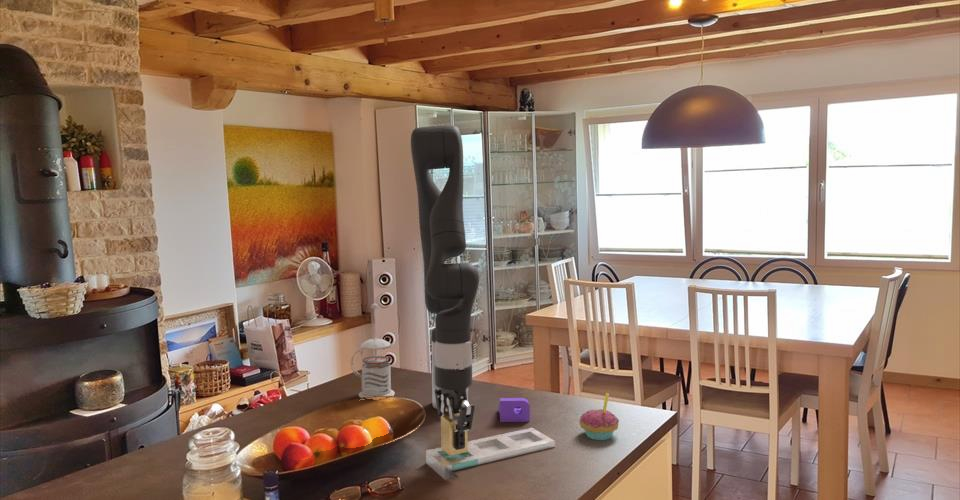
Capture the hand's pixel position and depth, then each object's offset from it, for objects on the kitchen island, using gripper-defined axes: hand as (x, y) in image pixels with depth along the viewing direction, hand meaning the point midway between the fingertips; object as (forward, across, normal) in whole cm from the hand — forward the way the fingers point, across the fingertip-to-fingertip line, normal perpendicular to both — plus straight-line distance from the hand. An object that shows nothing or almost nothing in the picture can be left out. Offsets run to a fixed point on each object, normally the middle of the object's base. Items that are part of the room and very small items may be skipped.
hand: (454, 444), depth 141 cm
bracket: (+5, -18, +25) cm, 31 cm away
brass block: (+1, 0, 0) cm, 1 cm away
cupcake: (+5, +4, +34) cm, 34 cm away
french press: (+5, -53, +2) cm, 53 cm away
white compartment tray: (+5, 0, +9) cm, 10 cm away
